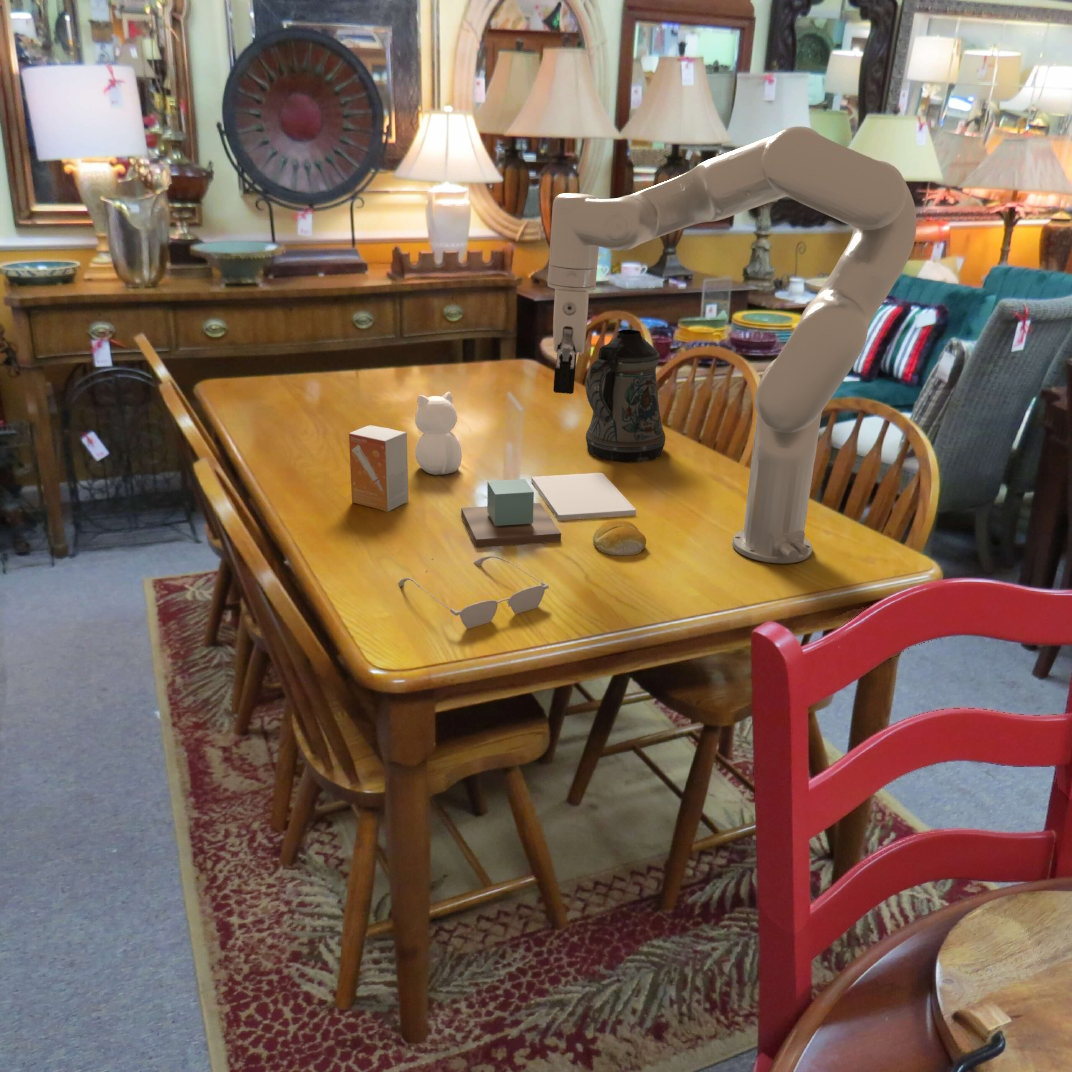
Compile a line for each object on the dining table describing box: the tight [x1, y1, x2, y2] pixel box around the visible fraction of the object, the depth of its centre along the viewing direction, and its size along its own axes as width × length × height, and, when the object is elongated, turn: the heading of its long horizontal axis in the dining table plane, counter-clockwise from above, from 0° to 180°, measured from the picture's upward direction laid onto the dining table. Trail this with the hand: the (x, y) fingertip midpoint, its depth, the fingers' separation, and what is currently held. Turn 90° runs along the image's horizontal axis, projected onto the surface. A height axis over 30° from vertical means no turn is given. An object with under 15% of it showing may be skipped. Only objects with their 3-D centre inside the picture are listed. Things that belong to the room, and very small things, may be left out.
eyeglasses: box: [397, 555, 549, 630], centre depth 141 cm, size 15×18×4 cm
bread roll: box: [592, 519, 647, 557], centre depth 159 cm, size 8×9×4 cm
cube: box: [486, 478, 535, 526], centre depth 163 cm, size 6×6×6 cm
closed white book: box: [530, 472, 637, 522], centre depth 179 cm, size 20×14×1 cm
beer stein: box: [584, 329, 666, 464], centre depth 199 cm, size 16×19×25 cm
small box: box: [348, 424, 409, 513], centre depth 172 cm, size 8×6×13 cm
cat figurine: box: [414, 391, 463, 476], centre depth 188 cm, size 9×12×15 cm
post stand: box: [460, 502, 562, 549], centre depth 163 cm, size 14×14×6 cm
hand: (564, 384), depth 160 cm, fingers open, 9 cm apart
